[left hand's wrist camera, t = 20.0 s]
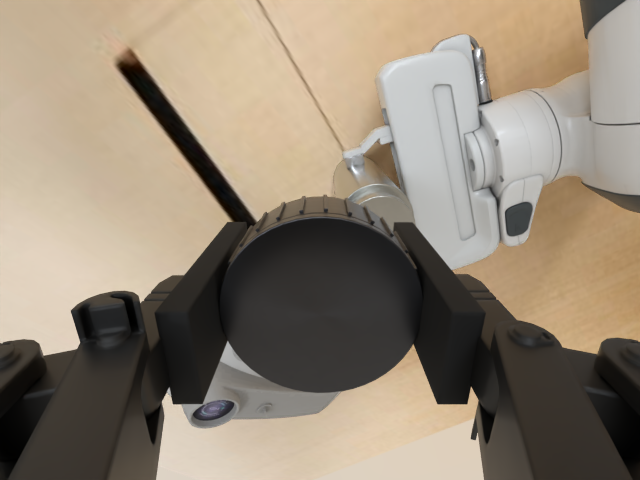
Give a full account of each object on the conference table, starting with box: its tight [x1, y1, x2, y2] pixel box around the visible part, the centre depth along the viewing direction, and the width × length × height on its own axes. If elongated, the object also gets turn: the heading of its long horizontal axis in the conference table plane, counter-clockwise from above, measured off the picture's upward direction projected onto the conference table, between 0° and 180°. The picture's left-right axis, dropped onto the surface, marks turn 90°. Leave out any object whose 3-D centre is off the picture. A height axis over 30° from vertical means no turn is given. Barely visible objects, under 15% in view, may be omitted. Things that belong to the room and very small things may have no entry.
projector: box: [167, 342, 340, 428], centre depth 40 cm, size 22×23×15 cm
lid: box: [219, 195, 423, 393], centre depth 11 cm, size 6×6×2 cm
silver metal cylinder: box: [333, 156, 416, 231], centre depth 31 cm, size 5×5×18 cm
